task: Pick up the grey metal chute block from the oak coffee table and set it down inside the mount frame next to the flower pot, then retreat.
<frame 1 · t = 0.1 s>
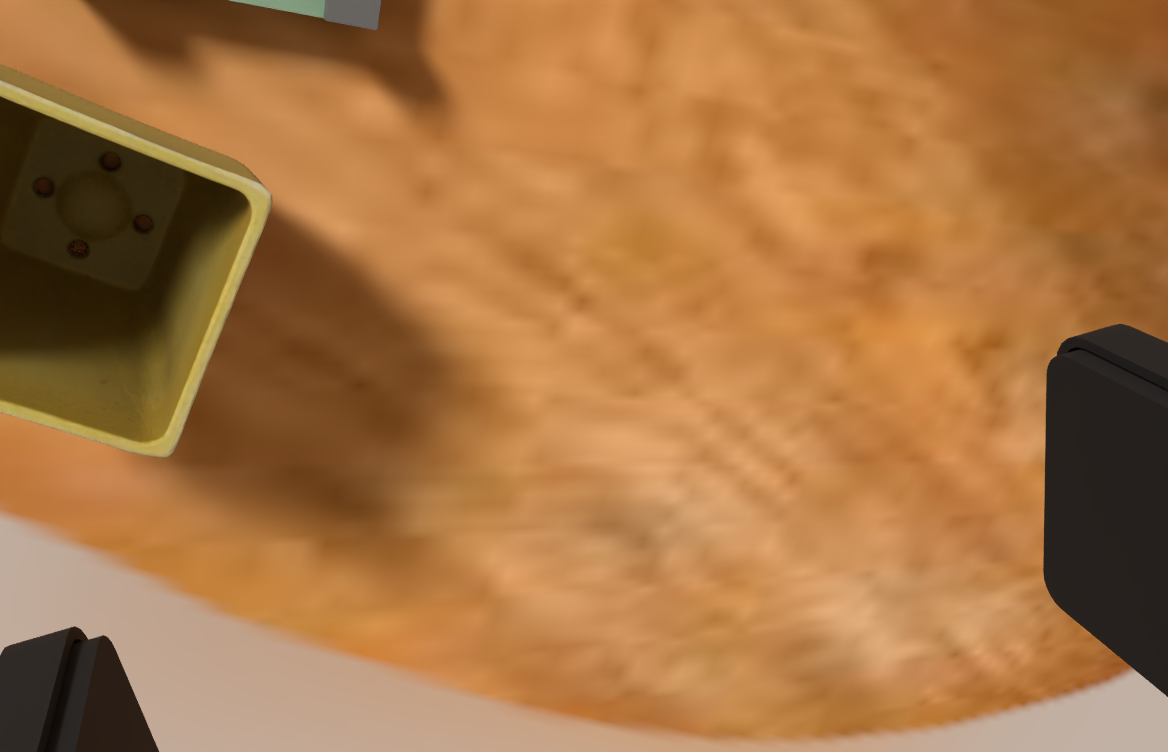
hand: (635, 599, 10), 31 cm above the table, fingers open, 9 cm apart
flower pot: (101, 202, 37), on the table
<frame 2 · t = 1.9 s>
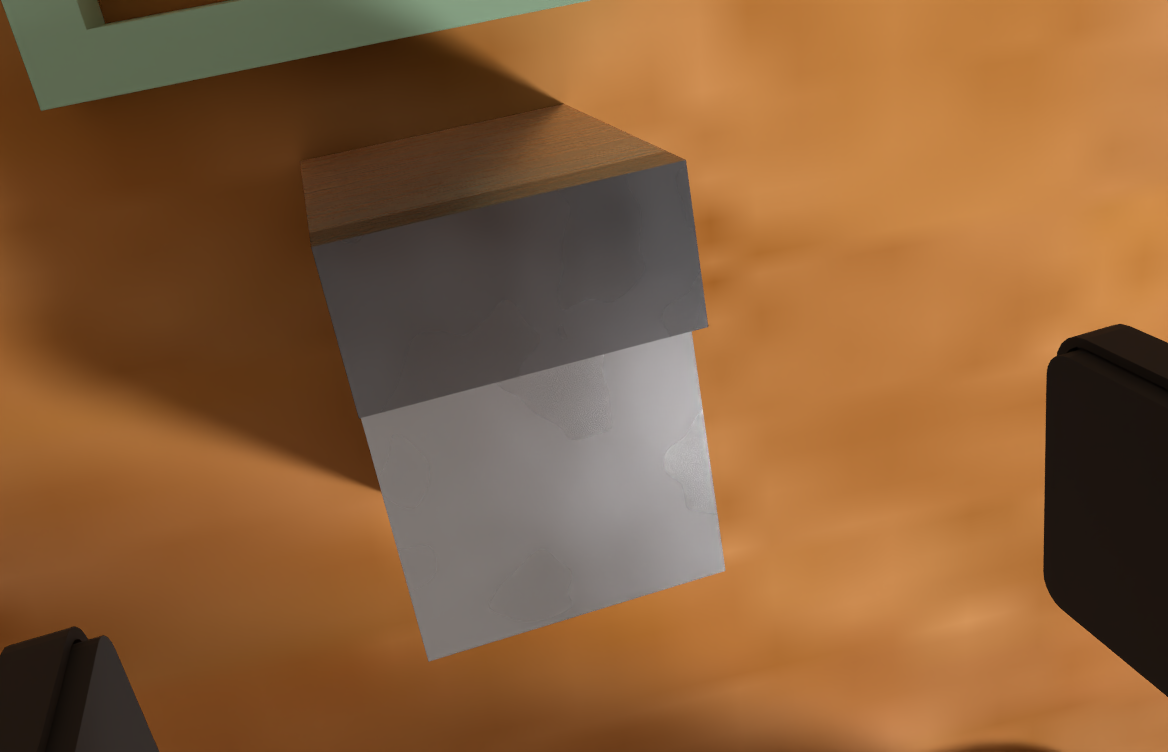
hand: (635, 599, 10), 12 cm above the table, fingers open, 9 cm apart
chute block: (473, 307, 21), on the table
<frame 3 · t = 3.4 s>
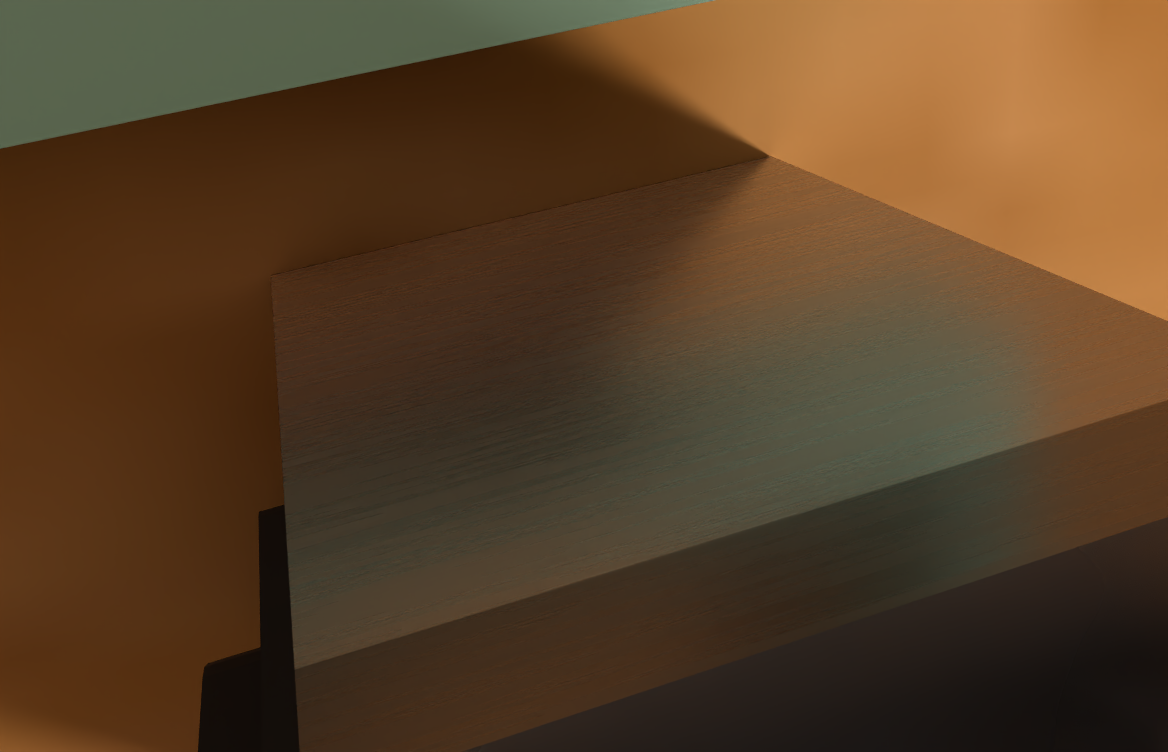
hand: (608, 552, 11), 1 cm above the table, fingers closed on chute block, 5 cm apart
chute block: (590, 520, 12), on the table, touching gripper
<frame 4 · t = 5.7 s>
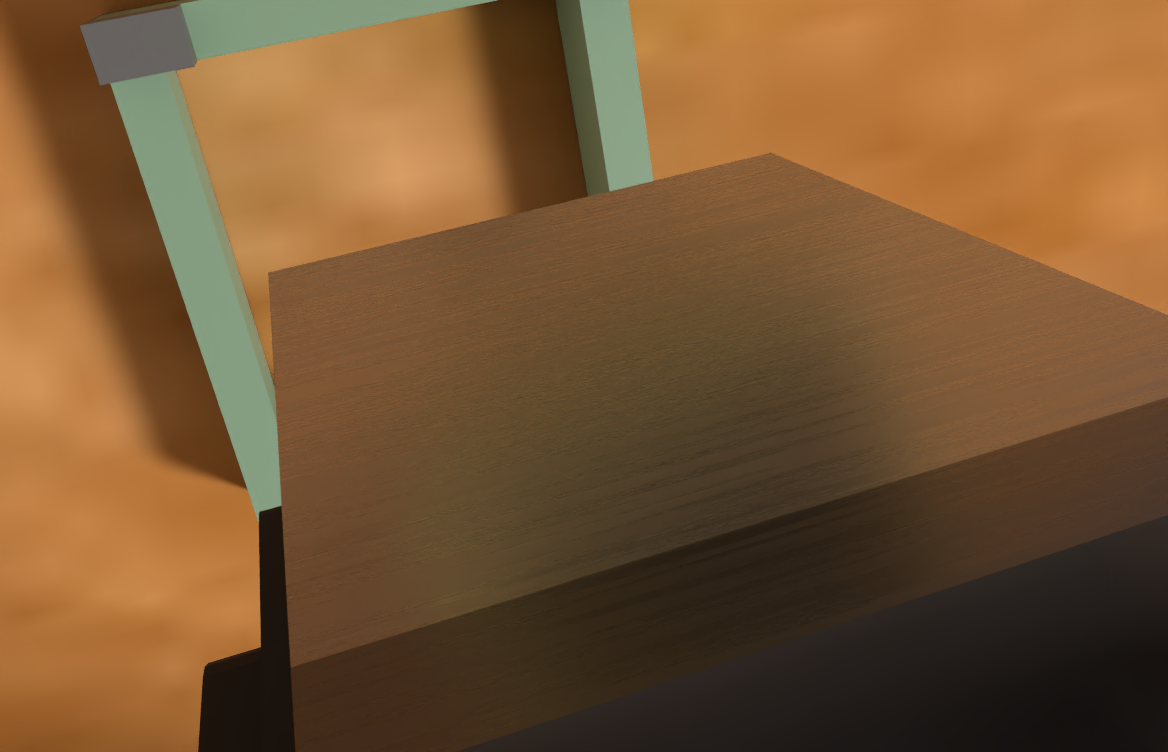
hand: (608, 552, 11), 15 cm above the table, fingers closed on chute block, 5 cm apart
chute block: (589, 519, 12), point 14 cm above the table, touching gripper
mount frame: (416, 224, 24), on the table
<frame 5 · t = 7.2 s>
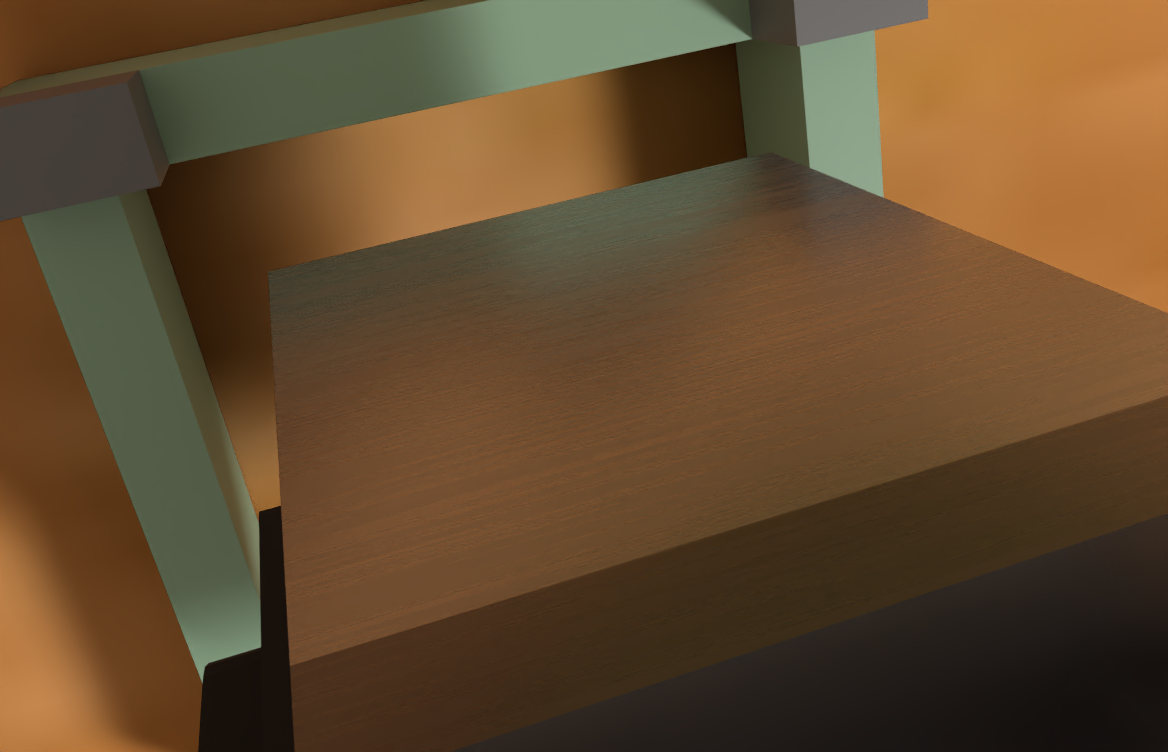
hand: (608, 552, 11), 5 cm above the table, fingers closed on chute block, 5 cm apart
chute block: (589, 518, 12), point 4 cm above the table, touching gripper
mount frame: (514, 390, 16), on the table
when the fingers open (2 cm above the table, at t = 8.2 s): chute block drops 2 cm, resting in mount frame.
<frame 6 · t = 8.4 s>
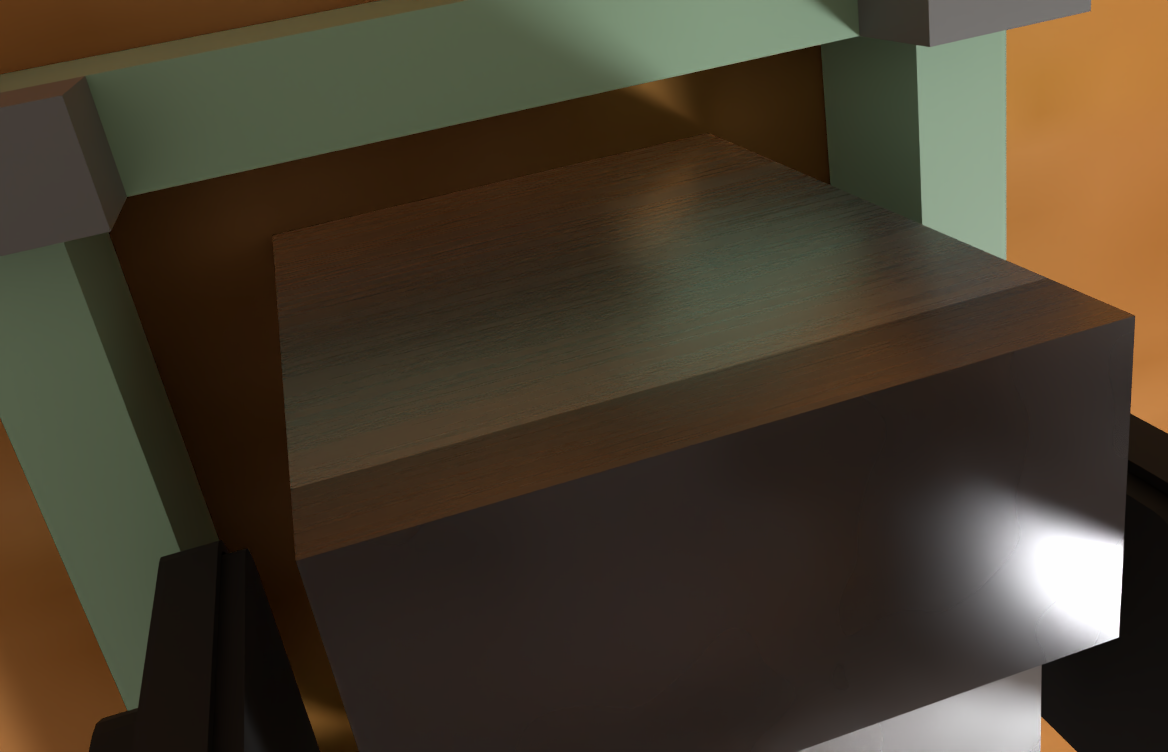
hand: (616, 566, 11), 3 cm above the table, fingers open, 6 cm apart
chute block: (552, 453, 13), resting in mount frame
mount frame: (549, 452, 13), on the table
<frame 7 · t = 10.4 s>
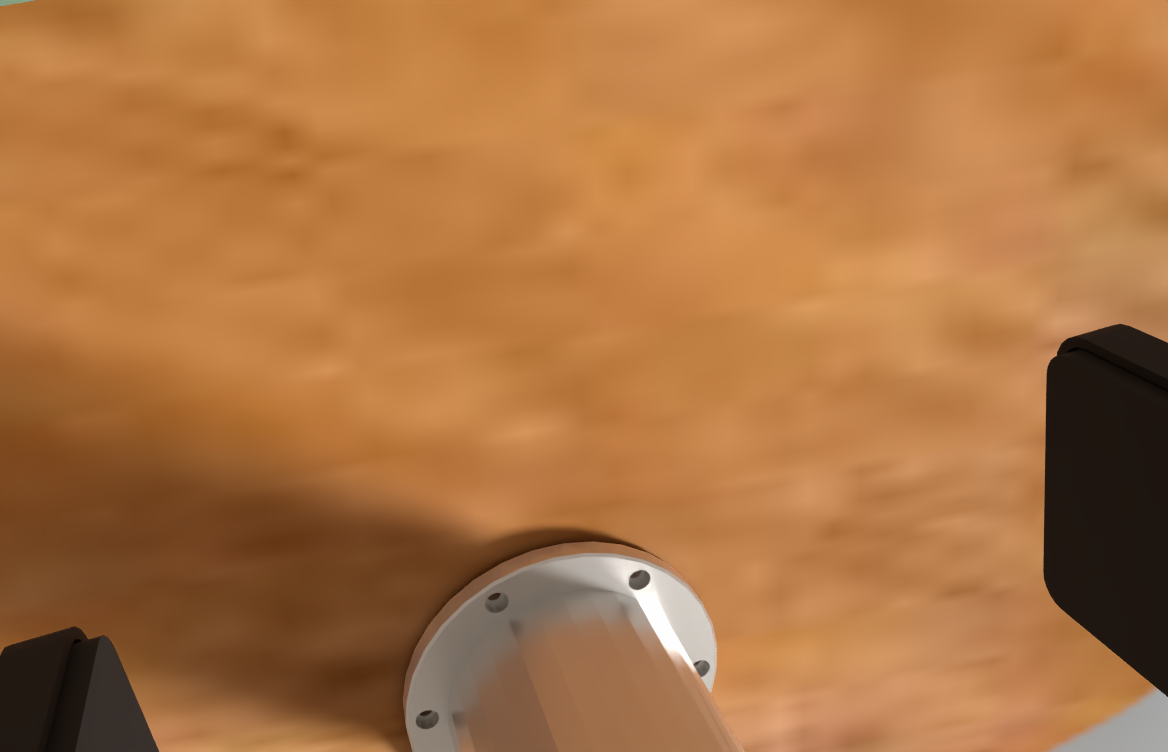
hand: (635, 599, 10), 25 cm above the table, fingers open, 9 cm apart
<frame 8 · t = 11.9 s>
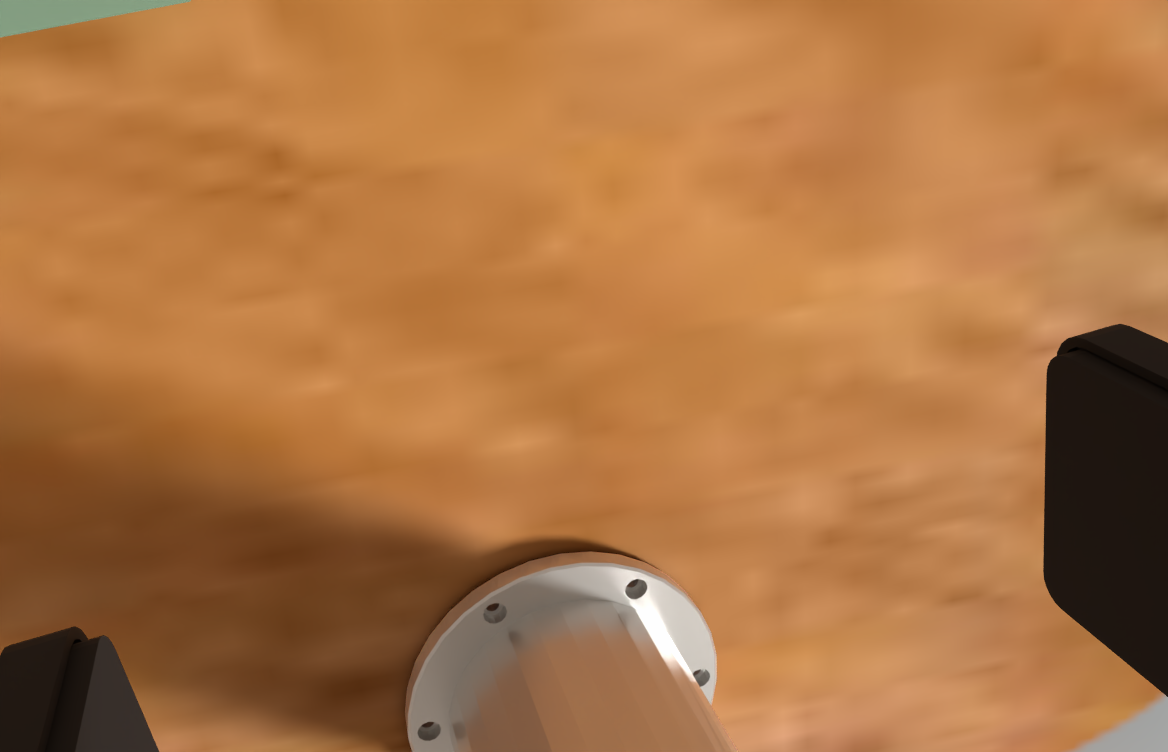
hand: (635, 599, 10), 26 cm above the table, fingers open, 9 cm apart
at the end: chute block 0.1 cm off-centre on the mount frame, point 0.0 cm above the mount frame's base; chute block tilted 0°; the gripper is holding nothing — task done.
